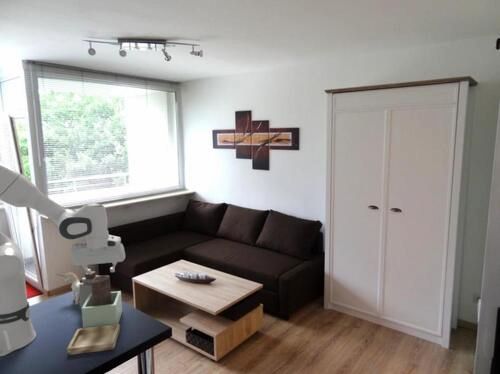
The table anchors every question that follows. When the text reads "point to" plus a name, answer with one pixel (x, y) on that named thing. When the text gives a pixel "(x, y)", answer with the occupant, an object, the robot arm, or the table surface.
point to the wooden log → (101, 290)
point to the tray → (94, 339)
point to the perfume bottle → (86, 287)
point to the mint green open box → (102, 312)
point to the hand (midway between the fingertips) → (100, 272)
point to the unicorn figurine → (73, 285)
